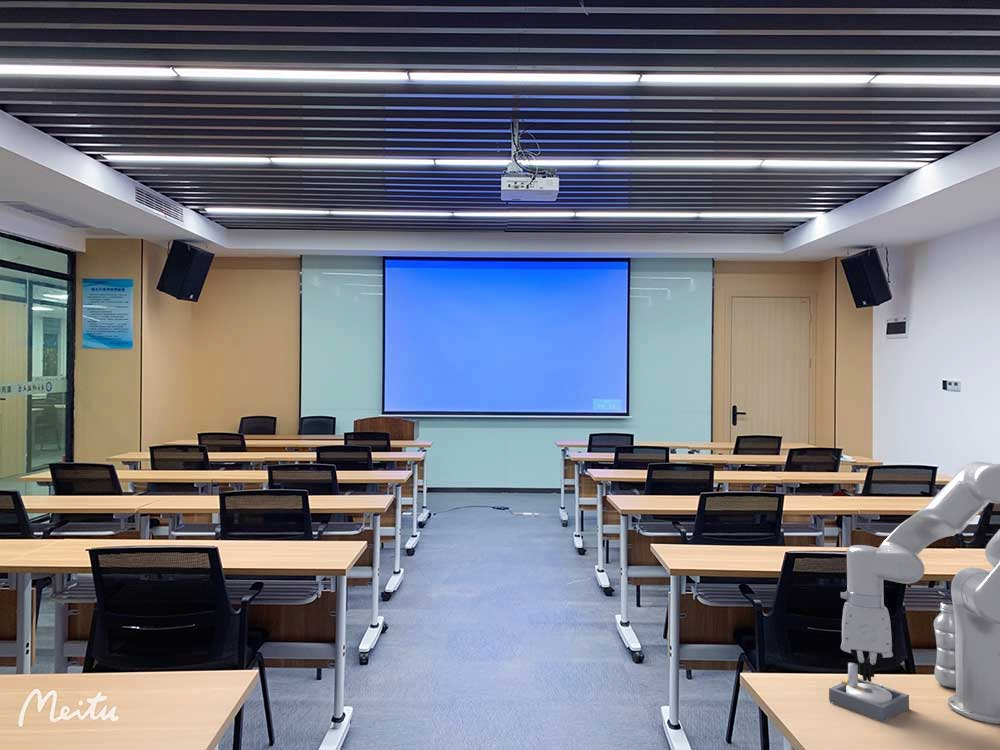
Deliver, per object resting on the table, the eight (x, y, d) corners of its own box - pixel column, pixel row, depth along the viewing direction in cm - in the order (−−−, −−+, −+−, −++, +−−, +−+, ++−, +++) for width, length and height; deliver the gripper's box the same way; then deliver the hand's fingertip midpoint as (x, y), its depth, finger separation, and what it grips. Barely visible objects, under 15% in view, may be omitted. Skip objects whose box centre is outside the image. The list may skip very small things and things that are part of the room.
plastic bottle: (972, 693, 162) (971, 608, 162) (941, 690, 163) (939, 606, 164) (959, 682, 168) (958, 601, 169) (929, 679, 169) (928, 599, 170)
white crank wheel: (899, 701, 153) (899, 671, 153) (880, 712, 148) (879, 680, 148) (858, 687, 161) (857, 658, 161) (838, 697, 155) (838, 666, 155)
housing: (855, 689, 162) (855, 675, 163) (909, 708, 153) (908, 692, 153) (829, 701, 155) (829, 686, 156) (883, 722, 146) (883, 705, 146)
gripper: (830, 599, 158) (831, 679, 157) (904, 608, 152) (906, 691, 151) (829, 591, 165) (830, 668, 164) (899, 599, 159) (901, 678, 158)
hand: (866, 678), depth 158 cm, fingers closed
